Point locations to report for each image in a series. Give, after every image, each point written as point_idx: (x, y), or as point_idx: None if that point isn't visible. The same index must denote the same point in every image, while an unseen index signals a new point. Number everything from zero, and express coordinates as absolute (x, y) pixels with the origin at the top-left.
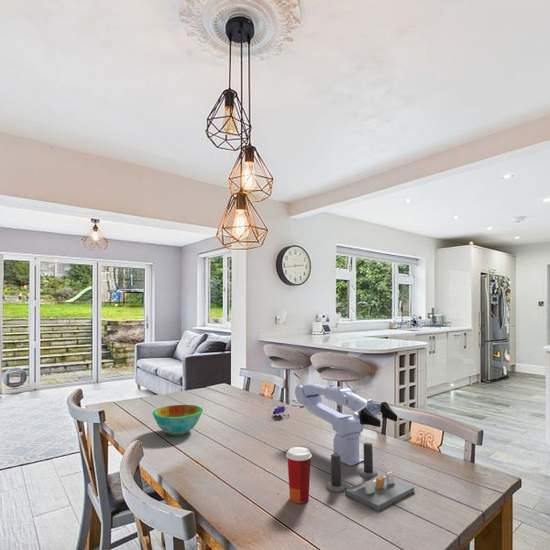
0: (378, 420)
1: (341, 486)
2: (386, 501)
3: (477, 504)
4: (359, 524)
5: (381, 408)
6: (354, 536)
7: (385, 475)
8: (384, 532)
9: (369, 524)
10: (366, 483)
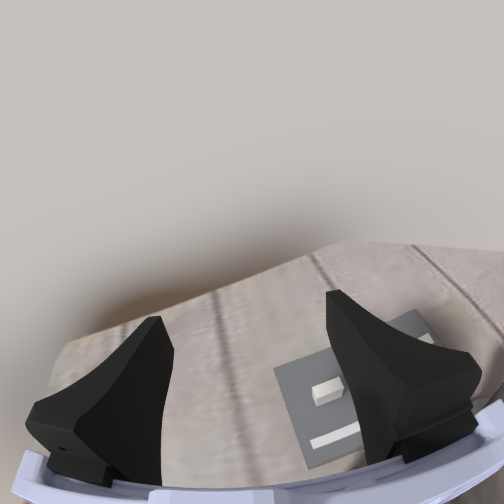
0: (342, 292)
1: (473, 412)
2: (387, 323)
3: (198, 306)
4: (456, 285)
5: (116, 463)
6: (466, 262)
7: (343, 389)
8: (420, 266)
9: (439, 284)
10: (430, 337)
